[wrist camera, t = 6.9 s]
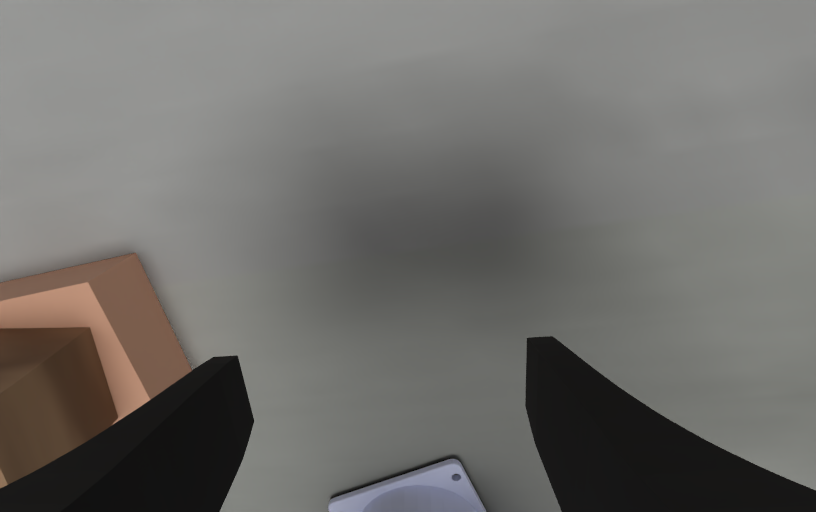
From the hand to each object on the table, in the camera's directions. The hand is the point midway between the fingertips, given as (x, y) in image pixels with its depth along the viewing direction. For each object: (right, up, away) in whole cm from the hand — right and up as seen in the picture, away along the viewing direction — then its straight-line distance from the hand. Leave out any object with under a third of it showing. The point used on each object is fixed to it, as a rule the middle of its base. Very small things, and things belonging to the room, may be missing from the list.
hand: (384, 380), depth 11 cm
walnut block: (-14, -2, +8) cm, 16 cm away
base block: (-14, 0, +11) cm, 18 cm away
